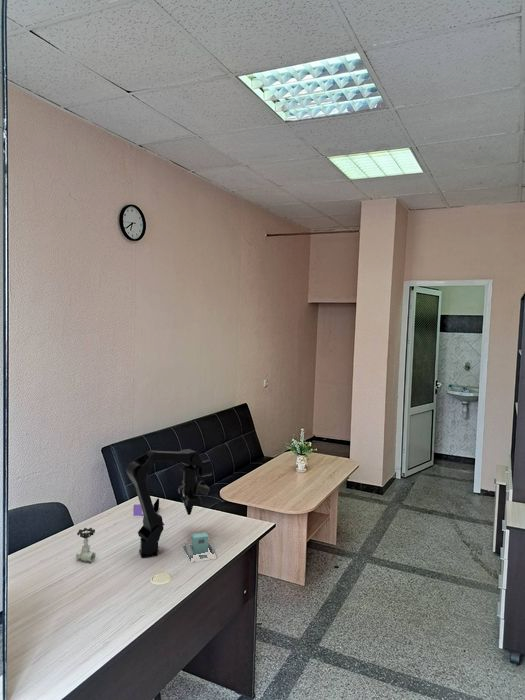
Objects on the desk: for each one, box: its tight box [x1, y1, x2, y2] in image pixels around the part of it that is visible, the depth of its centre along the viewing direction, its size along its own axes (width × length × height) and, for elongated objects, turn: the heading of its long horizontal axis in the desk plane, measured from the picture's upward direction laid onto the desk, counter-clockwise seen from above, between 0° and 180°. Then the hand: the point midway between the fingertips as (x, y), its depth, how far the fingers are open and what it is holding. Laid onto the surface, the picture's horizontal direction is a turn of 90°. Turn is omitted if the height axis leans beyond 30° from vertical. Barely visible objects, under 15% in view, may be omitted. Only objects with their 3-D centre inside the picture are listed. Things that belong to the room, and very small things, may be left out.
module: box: [191, 531, 210, 555], centre depth 195 cm, size 6×4×7 cm
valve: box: [75, 527, 97, 563], centre depth 186 cm, size 7×7×12 cm
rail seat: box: [182, 539, 216, 562], centre depth 195 cm, size 11×14×3 cm
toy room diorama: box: [132, 498, 160, 517], centre depth 233 cm, size 12×12×7 cm
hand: (189, 514), depth 205 cm, fingers closed
